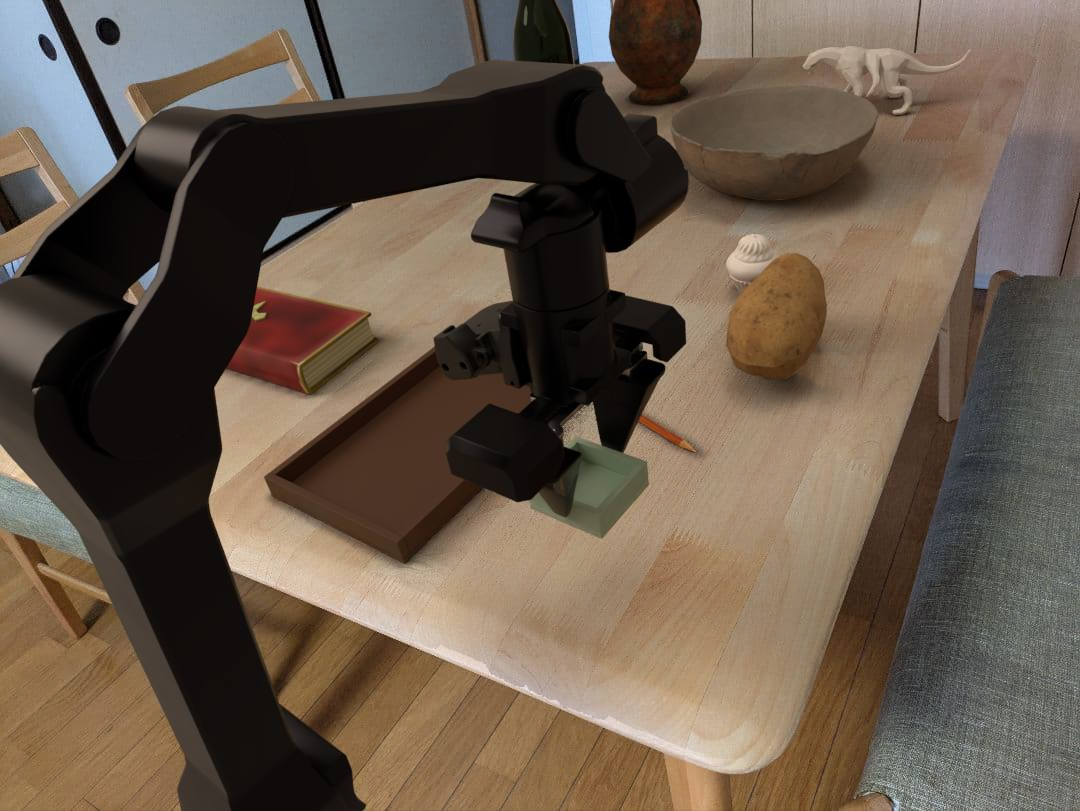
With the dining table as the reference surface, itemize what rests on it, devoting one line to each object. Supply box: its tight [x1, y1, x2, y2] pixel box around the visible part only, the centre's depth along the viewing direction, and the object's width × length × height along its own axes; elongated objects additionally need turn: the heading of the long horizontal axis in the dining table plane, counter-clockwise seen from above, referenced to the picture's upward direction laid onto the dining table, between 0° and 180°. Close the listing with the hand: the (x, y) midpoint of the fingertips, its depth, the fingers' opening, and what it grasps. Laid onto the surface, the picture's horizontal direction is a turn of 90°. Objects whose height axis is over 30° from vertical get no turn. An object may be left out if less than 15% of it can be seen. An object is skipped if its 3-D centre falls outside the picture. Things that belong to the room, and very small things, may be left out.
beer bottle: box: [512, 0, 575, 64], centre depth 141 cm, size 10×10×33 cm
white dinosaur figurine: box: [802, 45, 972, 116], centre depth 135 cm, size 12×25×10 cm, turn 76°
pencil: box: [638, 414, 697, 453], centre depth 82 cm, size 1×18×1 cm, turn 37°
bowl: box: [669, 85, 879, 201], centre depth 118 cm, size 28×28×10 cm
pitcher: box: [608, 0, 703, 106], centre depth 149 cm, size 17×21×30 cm
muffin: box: [725, 233, 781, 294], centre depth 95 cm, size 6×6×7 cm
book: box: [226, 285, 380, 395], centre depth 100 cm, size 12×21×4 cm, turn 58°
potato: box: [725, 252, 828, 380], centre depth 83 cm, size 9×16×9 cm, turn 149°
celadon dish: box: [528, 436, 650, 540], centre depth 58 cm, size 6×6×2 cm
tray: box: [263, 345, 532, 564], centre depth 82 cm, size 28×18×2 cm, turn 144°
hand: (588, 485), depth 58 cm, fingers closed on celadon dish, 6 cm apart
